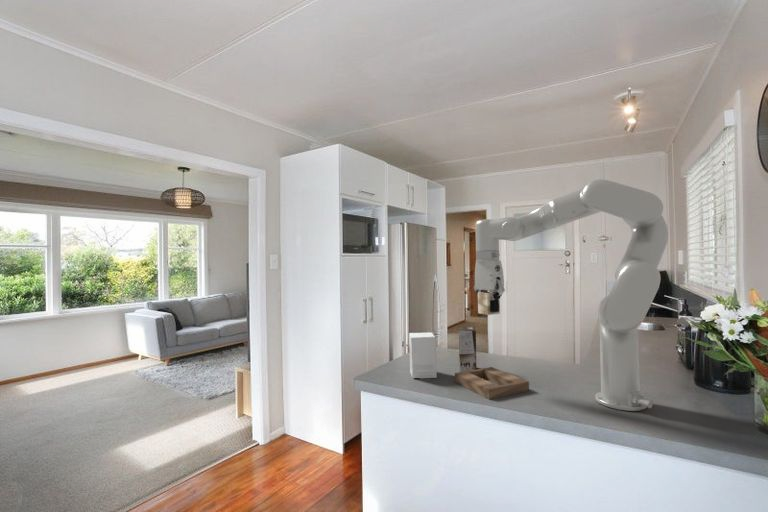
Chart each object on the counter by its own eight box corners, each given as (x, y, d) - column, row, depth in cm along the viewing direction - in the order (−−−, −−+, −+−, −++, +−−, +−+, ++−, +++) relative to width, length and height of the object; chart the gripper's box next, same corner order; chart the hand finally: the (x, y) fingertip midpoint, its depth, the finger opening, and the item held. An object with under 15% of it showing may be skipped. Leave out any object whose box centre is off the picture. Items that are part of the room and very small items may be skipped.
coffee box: (477, 374, 138) (476, 330, 138) (459, 373, 139) (458, 330, 139) (476, 367, 147) (475, 326, 147) (459, 366, 148) (458, 325, 148)
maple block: (499, 313, 124) (499, 292, 124) (487, 314, 122) (487, 293, 122) (490, 311, 128) (489, 291, 128) (478, 313, 126) (477, 292, 126)
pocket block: (529, 390, 120) (528, 381, 120) (488, 399, 113) (488, 389, 113) (491, 375, 136) (491, 367, 136) (454, 381, 130) (454, 373, 130)
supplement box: (433, 370, 143) (432, 331, 143) (437, 378, 134) (436, 336, 134) (409, 371, 143) (408, 332, 143) (411, 379, 134) (411, 337, 134)
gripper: (514, 256, 119) (516, 313, 119) (480, 256, 134) (481, 307, 134) (495, 256, 116) (497, 315, 116) (463, 257, 131) (464, 308, 131)
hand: (488, 310), depth 125 cm, fingers closed on maple block, 5 cm apart
